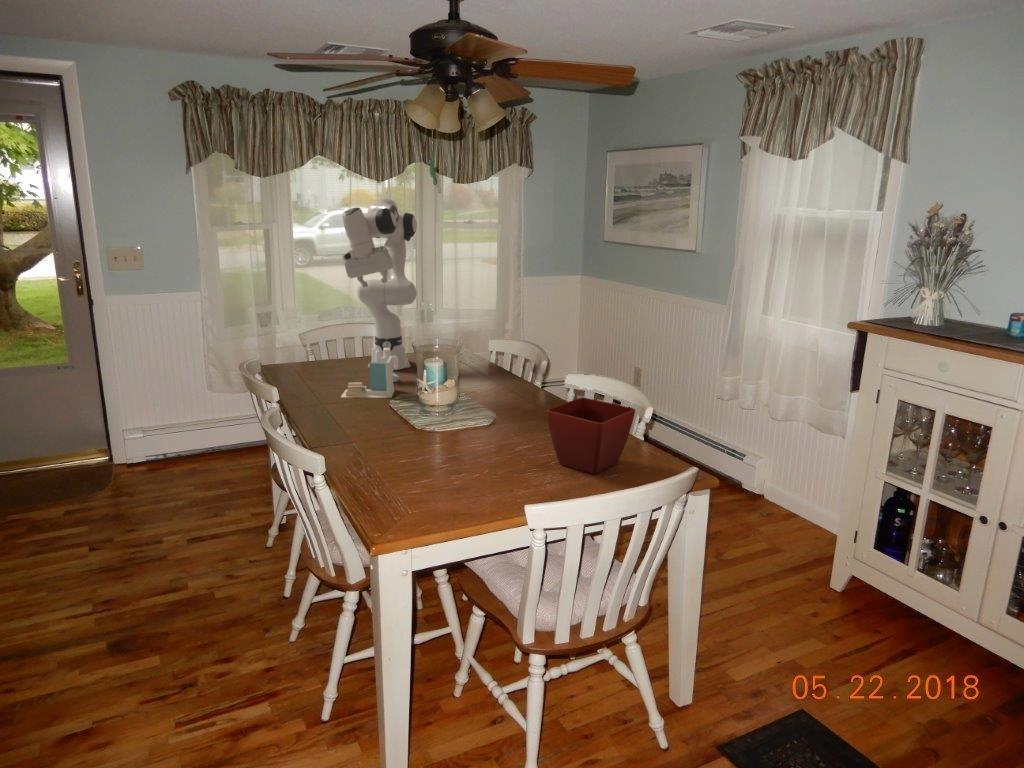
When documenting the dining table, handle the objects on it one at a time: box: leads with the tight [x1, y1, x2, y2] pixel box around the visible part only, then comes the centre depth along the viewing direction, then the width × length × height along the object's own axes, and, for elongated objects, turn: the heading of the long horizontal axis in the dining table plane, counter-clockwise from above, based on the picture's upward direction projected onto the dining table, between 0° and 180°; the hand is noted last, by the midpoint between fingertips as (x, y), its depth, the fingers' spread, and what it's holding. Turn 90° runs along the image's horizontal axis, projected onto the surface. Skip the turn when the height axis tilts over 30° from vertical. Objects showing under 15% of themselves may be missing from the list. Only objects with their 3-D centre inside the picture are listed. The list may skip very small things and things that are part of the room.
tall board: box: [368, 361, 387, 391], centre depth 272 cm, size 2×6×12 cm, turn 92°
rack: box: [340, 356, 395, 399], centre depth 272 cm, size 11×19×15 cm, turn 92°
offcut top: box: [347, 381, 363, 392], centre depth 272 cm, size 6×5×2 cm
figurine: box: [375, 348, 400, 383], centre depth 291 cm, size 7×9×15 cm
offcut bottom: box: [345, 385, 368, 396], centre depth 273 cm, size 8×6×2 cm
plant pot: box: [546, 397, 636, 475], centre depth 209 cm, size 19×19×17 cm
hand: (375, 284), depth 281 cm, fingers open, 8 cm apart
